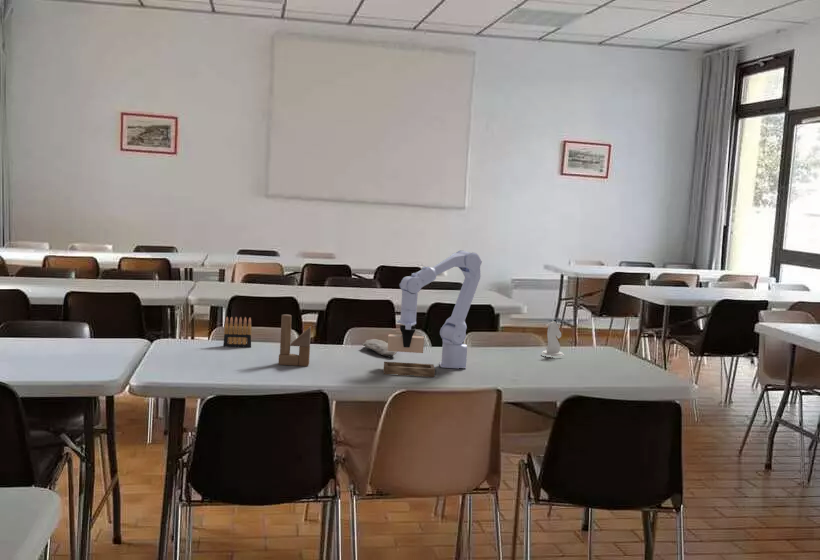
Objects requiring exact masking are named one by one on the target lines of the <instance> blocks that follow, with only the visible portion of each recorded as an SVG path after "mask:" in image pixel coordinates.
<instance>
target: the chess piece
mask: <svg viewBox="0 0 820 560" xmlns="http://www.w3.org/2000/svg"><path fill="white" fill-rule="evenodd" d="M546 331H547V334H546V335H547V336H546V337H547V347H545V350H542V352H541V353H542V354H545V355H551V356H562V355H564V356H565V354H564V352H562V351H560V350H561V344H560V342H559V340H558V339H560V338H562V332H561V331H560V328H559V325H558V324H557V321H554V320H553V321H550V322H549V324H548V327H547V330H546Z"/></svg>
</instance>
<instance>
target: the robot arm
mask: <svg viewBox="0 0 820 560" xmlns="http://www.w3.org/2000/svg"><path fill="white" fill-rule="evenodd" d="M482 262H483V261H482V260H481V257H480V255H479V254H478V253H477V252H473V251H472V252H470V251H466V250H458V251H456V252H454V253H452V254H451V255H450V256H448V257H446V258H445V259H443V260H442V261H440V262H438V263H437V264H435V265H433V267H431V266H423V267H421V269H420V270H419V271H416V272H413V273H412V272H411V275H409V276H404V277H403V278H402V279H401V281H400V283H399V289H400V290H401V302H400V304H401V306H400V308H401V309H400V319H399V320H398V319H397V320H396V323H397V324H400V325H399V328H400V329H399V330H400V332H401V335H402V336H403V346H404V347H410V344H411V340H412V336H414V334H415V333H416V325H417V310H418V308H417V307H418V295H419V294H418V293H420V291H421V289H422V288H424V287H425V286H427V285H429V284H430V283H432V282H434V281H435V280H436V279H437V276H438V275H440V274H442V273H444V272H446V271H448V270H450V269H451V270H452V268H456V267H457V268H458V269H459V270H460V271H461V272H462V274H463V276H464V279H463V283H462V286H461V288H460V291H459V293H458V297H457V299H456V302H455V305H454V307H453V310H452V313H451V316H449V317H448V318H447V319H446V320H445V322H444V324H443V325H442V327H440V330H439V335H440V338H441V339H442V340H441V341H442V345H441V346H442V347H441V349H442V350H441V360H440V362H439V366H440V368H445V369H459V368H466V369H467V363H468V362H467V360H468V359H467V356H468V345H467V344H465V343H464V342H465V340H466V337H467V333H466V332H467V329H468V327H467V323H466V318H467V316H468V313H469V310H470V308H471V305H472V303H473V299H474V297H475V294H476V291H477V289H478V286H479V283H480V280H481V265H482Z"/></svg>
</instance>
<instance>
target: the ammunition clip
mask: <svg viewBox="0 0 820 560" xmlns="http://www.w3.org/2000/svg"><path fill="white" fill-rule="evenodd" d="M233 319H234V320H233ZM238 320H239V321H238ZM223 330H224V333H223V345H222V346H223V348H245V349H246V348H250V349H251V348H252V317H249V318H248V322H247V317H246V316H244V318H243V319H242V316H240V317H239V319H238V317H237V316H235V317H234V318H233V316H231V317H230V320H229V317H228V316H226V318H225V322H224V329H223Z"/></svg>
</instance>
